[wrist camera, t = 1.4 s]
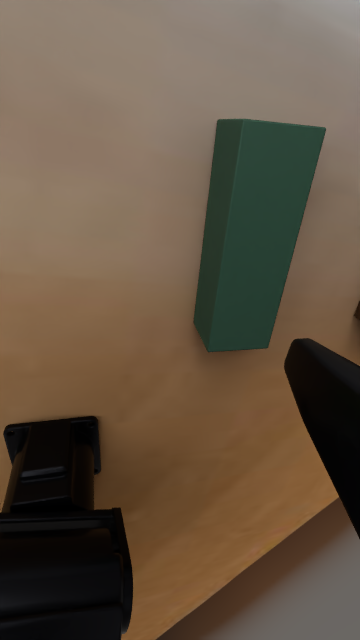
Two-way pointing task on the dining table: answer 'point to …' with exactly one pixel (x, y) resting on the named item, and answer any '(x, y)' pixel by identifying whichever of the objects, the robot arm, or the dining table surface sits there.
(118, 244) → the dining table surface
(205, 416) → the dining table surface
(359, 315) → the walnut bar
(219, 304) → the green bar
